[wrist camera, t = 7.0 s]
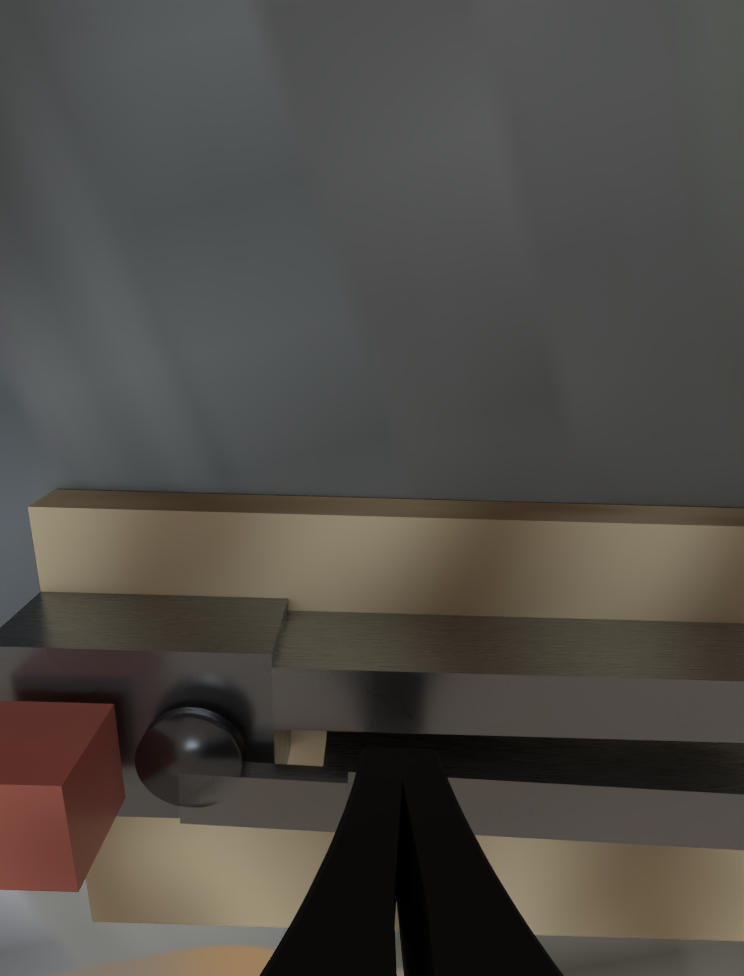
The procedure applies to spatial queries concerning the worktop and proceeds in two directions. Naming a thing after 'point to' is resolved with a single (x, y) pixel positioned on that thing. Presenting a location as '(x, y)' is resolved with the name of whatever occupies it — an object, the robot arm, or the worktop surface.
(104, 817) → the tab
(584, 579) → the board
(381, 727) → the tongs body
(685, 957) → the worktop surface
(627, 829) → the bar
